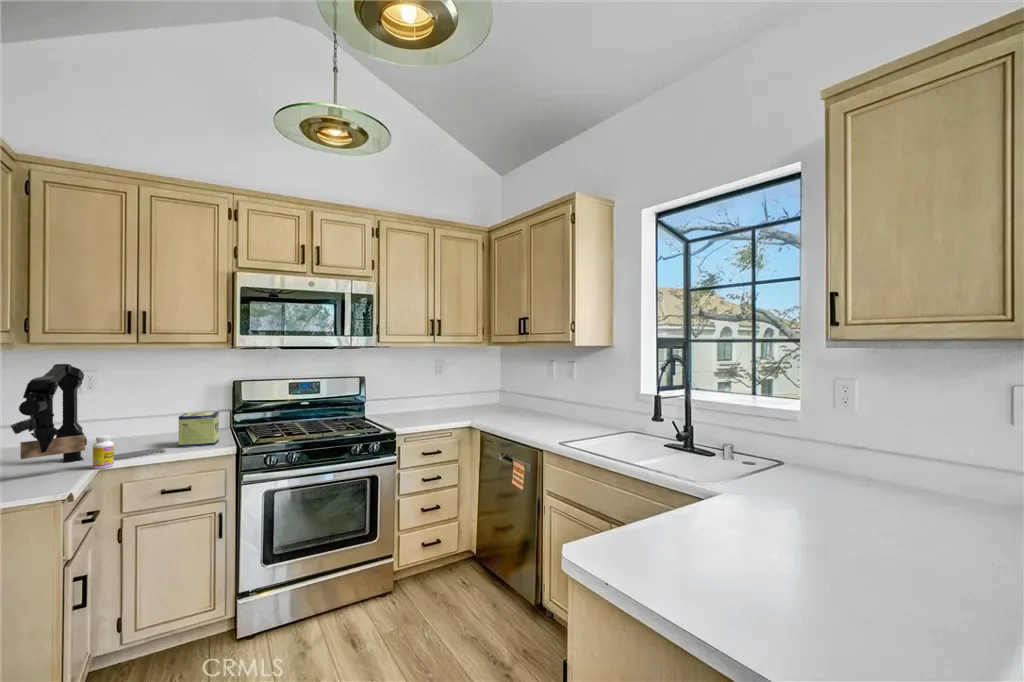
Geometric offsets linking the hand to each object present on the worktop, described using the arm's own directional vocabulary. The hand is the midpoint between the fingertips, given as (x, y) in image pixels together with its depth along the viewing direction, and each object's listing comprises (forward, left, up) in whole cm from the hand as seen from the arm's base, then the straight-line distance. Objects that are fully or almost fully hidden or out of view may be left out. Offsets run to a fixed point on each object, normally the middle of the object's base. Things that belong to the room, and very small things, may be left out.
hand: (43, 451), depth 182 cm
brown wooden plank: (0, +3, -2) cm, 3 cm away
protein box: (-15, +58, -10) cm, 61 cm away
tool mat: (-13, +31, -10) cm, 35 cm away
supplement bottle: (0, +18, -10) cm, 21 cm away
